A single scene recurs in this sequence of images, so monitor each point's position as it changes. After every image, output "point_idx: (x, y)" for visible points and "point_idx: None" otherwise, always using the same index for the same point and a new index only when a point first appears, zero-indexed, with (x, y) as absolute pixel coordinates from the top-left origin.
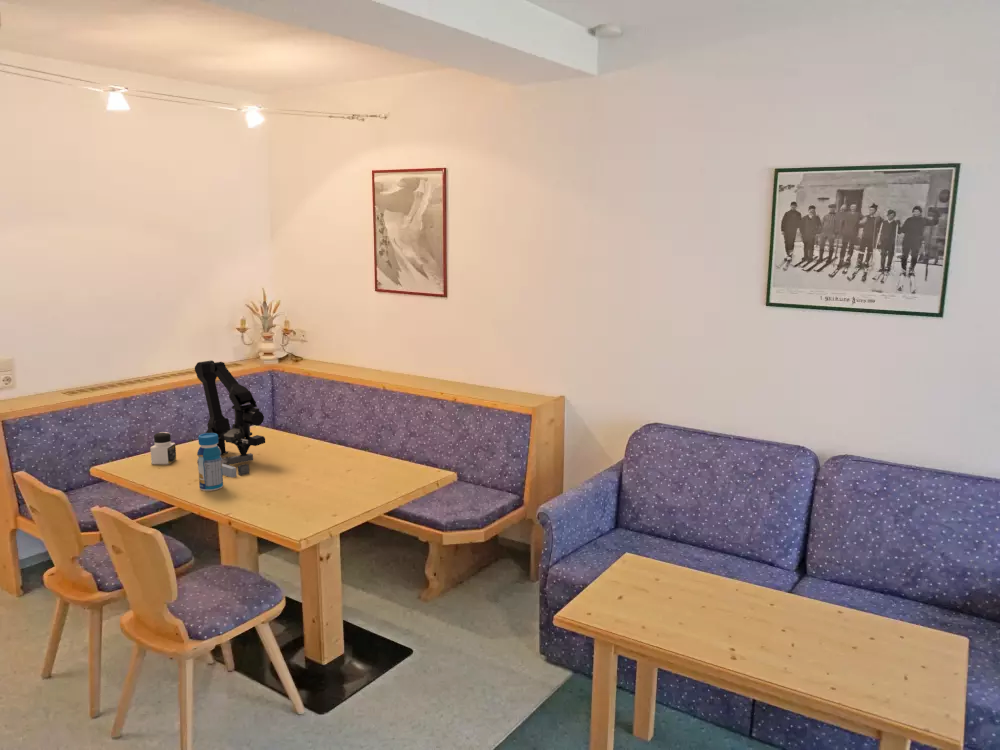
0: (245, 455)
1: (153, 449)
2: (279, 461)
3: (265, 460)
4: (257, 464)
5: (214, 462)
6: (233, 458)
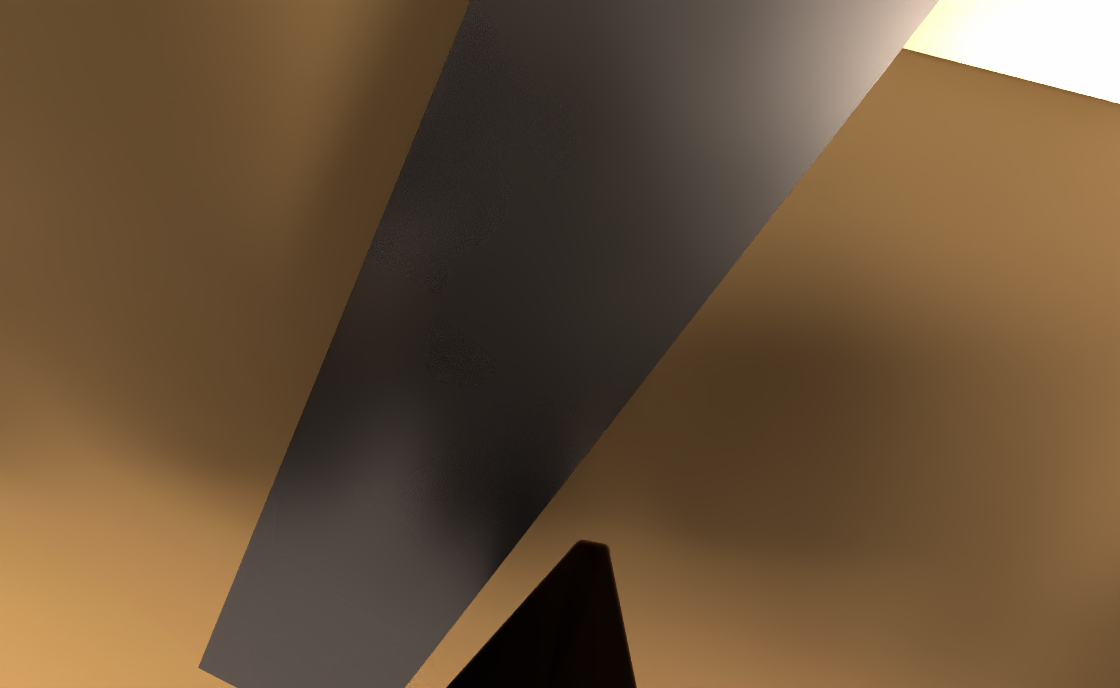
0: (284, 547)
1: None
2: (58, 629)
3: None
4: (169, 410)
5: None
6: (457, 63)
